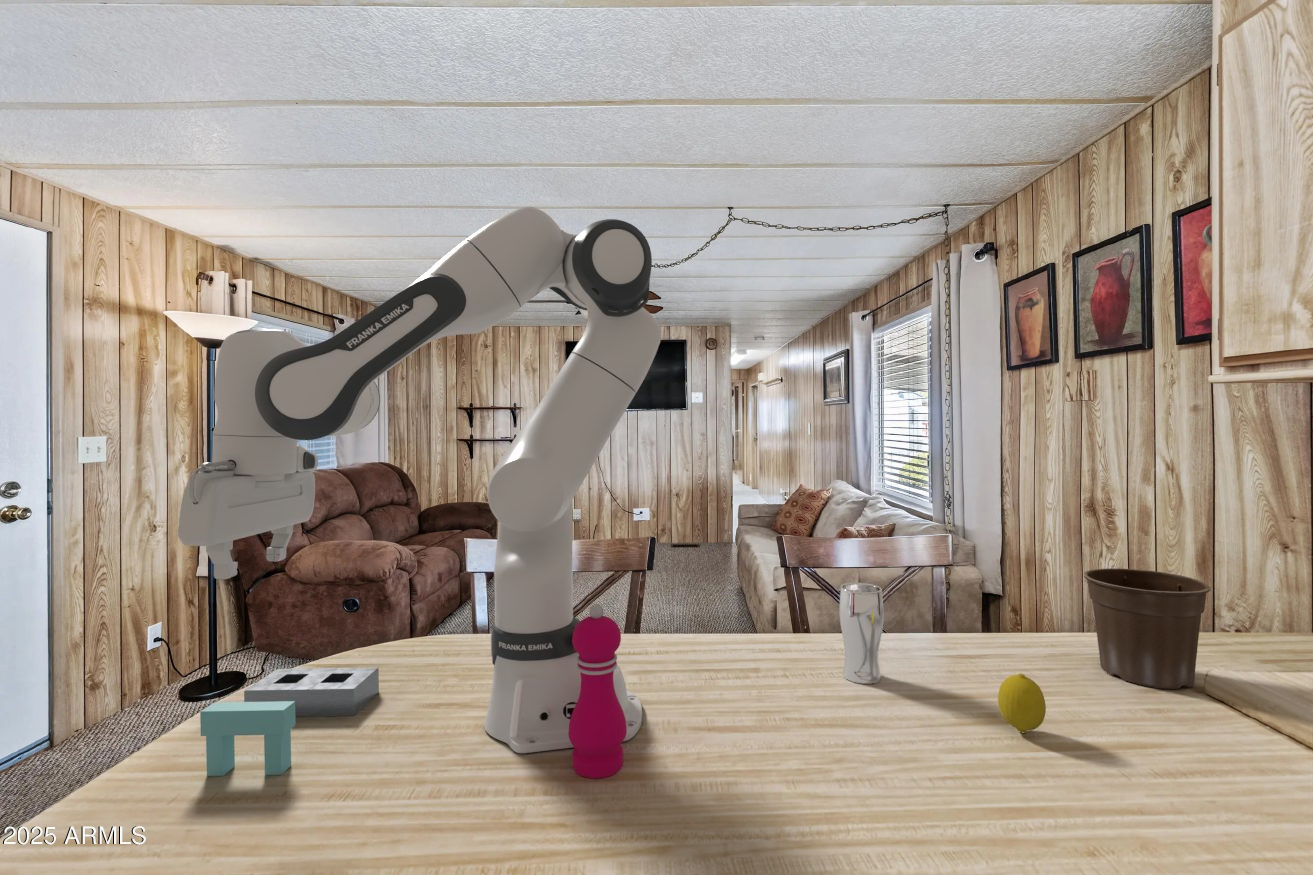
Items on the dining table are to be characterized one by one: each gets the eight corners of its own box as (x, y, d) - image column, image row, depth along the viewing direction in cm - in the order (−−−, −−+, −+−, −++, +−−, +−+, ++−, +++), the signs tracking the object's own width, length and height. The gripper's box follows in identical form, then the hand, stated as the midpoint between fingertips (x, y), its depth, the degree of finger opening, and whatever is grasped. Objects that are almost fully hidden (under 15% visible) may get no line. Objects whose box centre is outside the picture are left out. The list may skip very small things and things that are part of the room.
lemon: (1042, 727, 82) (1041, 669, 82) (1049, 746, 77) (1048, 685, 77) (996, 719, 85) (995, 663, 85) (1000, 737, 80) (999, 678, 80)
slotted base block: (378, 691, 96) (378, 667, 96) (354, 715, 88) (353, 688, 88) (278, 693, 96) (277, 668, 95) (244, 717, 88) (244, 690, 87)
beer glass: (887, 673, 101) (887, 585, 101) (878, 688, 95) (878, 595, 95) (846, 665, 105) (845, 580, 105) (834, 679, 99) (834, 589, 99)
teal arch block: (296, 764, 75) (295, 701, 75) (284, 775, 73) (283, 709, 72) (215, 765, 75) (214, 702, 75) (201, 776, 72) (200, 711, 72)
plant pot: (1099, 686, 95) (1099, 585, 95) (1073, 651, 110) (1073, 564, 110) (1231, 703, 89) (1231, 595, 89) (1184, 664, 104) (1184, 571, 104)
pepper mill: (618, 784, 70) (616, 614, 70) (560, 777, 71) (558, 611, 71) (633, 751, 77) (631, 597, 77) (579, 746, 79) (578, 595, 78)
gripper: (221, 464, 65) (217, 591, 65) (325, 456, 85) (322, 553, 85) (162, 462, 64) (158, 589, 65) (280, 454, 85) (277, 551, 85)
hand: (252, 568), depth 75 cm, fingers open, 8 cm apart
